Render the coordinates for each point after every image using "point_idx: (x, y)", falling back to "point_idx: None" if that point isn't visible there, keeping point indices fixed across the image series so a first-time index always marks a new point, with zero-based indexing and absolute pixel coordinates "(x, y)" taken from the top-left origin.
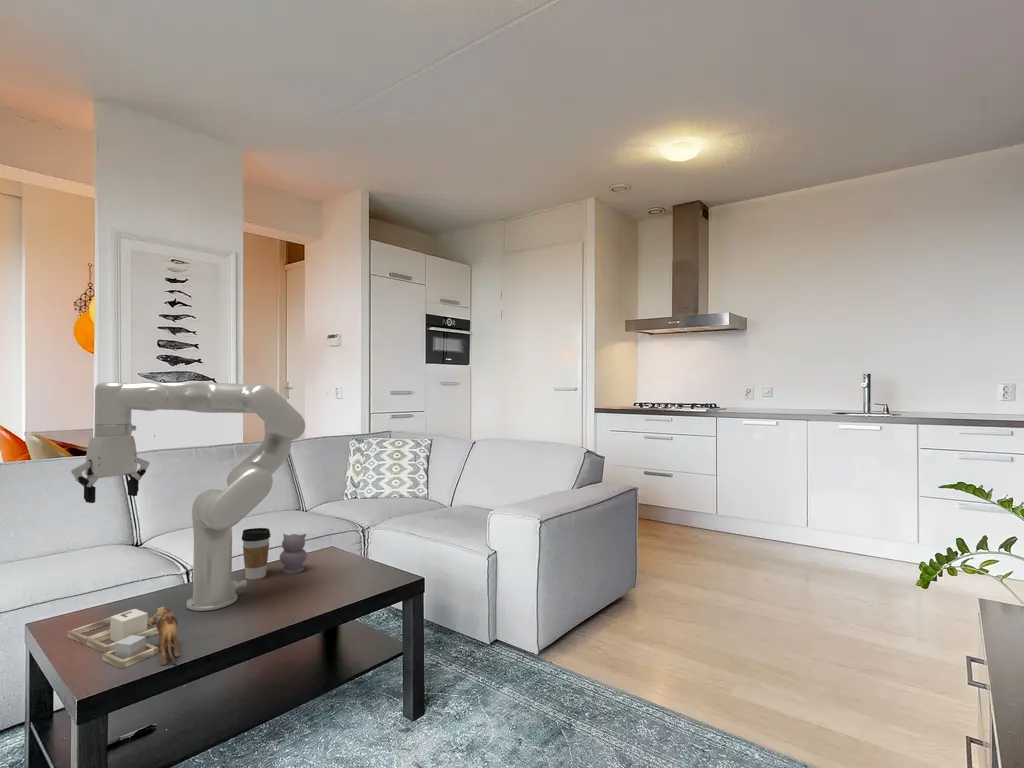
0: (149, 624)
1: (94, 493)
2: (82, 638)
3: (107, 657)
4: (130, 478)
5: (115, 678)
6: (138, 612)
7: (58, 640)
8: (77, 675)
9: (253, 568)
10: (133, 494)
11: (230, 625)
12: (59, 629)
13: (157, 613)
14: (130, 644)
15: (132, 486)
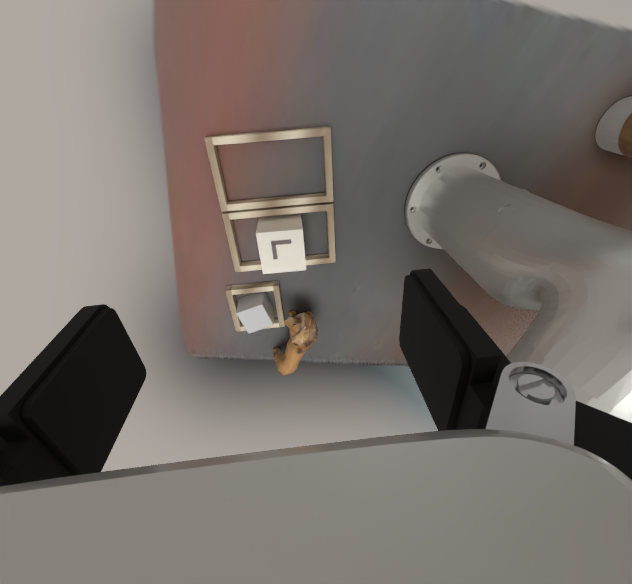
0: (326, 213)
1: (112, 434)
2: (218, 198)
3: (228, 301)
4: (480, 405)
5: (224, 341)
6: (297, 254)
7: (190, 137)
8: (191, 302)
9: (618, 148)
10: (403, 342)
11: (390, 313)
12: (201, 61)
13: (291, 342)
14: (249, 332)
15: (427, 379)
